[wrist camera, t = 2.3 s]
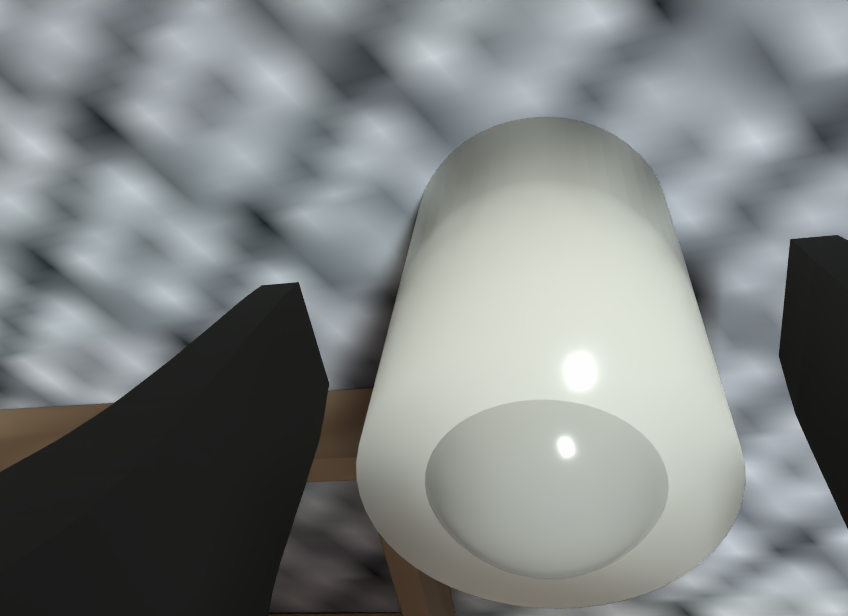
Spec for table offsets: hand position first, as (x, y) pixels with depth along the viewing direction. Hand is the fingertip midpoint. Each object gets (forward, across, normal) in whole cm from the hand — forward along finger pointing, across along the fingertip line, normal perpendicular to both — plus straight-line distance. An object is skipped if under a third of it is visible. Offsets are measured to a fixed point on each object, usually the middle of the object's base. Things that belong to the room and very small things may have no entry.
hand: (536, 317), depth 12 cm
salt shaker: (+3, 0, 0) cm, 3 cm away
